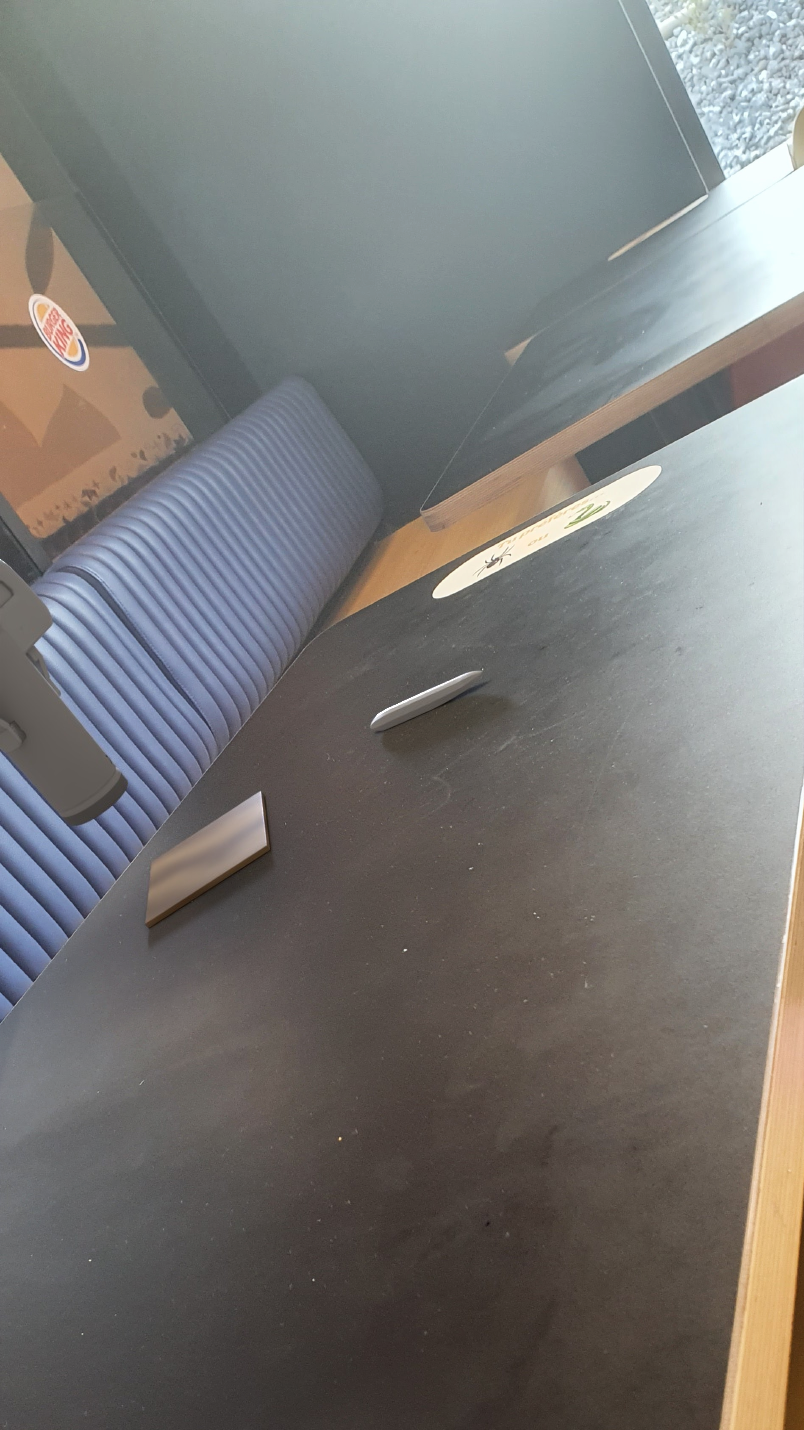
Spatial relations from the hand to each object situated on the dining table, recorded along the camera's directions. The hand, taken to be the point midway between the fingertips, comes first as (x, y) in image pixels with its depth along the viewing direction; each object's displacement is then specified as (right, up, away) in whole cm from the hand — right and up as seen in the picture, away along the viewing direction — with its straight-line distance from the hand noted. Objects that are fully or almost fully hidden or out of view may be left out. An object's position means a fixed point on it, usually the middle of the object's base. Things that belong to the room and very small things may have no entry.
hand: (35, 724), depth 95 cm
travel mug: (+4, -6, +4) cm, 9 cm away
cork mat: (+9, -11, +21) cm, 25 cm away
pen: (+32, +4, +21) cm, 38 cm away
